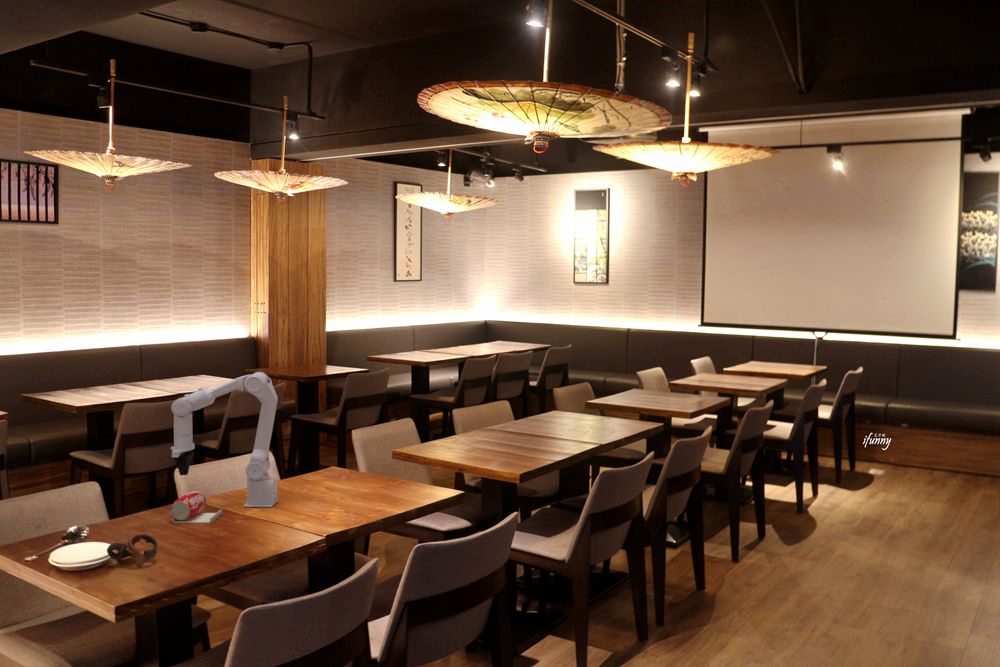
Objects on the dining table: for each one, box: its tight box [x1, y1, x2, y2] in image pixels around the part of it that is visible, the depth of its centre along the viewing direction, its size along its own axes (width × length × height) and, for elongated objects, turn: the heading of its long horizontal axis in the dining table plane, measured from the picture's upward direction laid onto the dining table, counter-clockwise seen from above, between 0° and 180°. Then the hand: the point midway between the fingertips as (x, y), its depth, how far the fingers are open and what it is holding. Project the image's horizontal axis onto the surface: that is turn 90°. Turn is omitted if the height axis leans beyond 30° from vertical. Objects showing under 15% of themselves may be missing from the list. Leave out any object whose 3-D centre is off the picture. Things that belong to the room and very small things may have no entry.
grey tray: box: [171, 509, 223, 524], centre depth 252 cm, size 12×10×2 cm
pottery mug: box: [106, 533, 158, 568], centre depth 210 cm, size 12×10×8 cm
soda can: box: [170, 490, 207, 520], centre depth 252 cm, size 7×7×12 cm
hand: (183, 474), depth 266 cm, fingers closed
